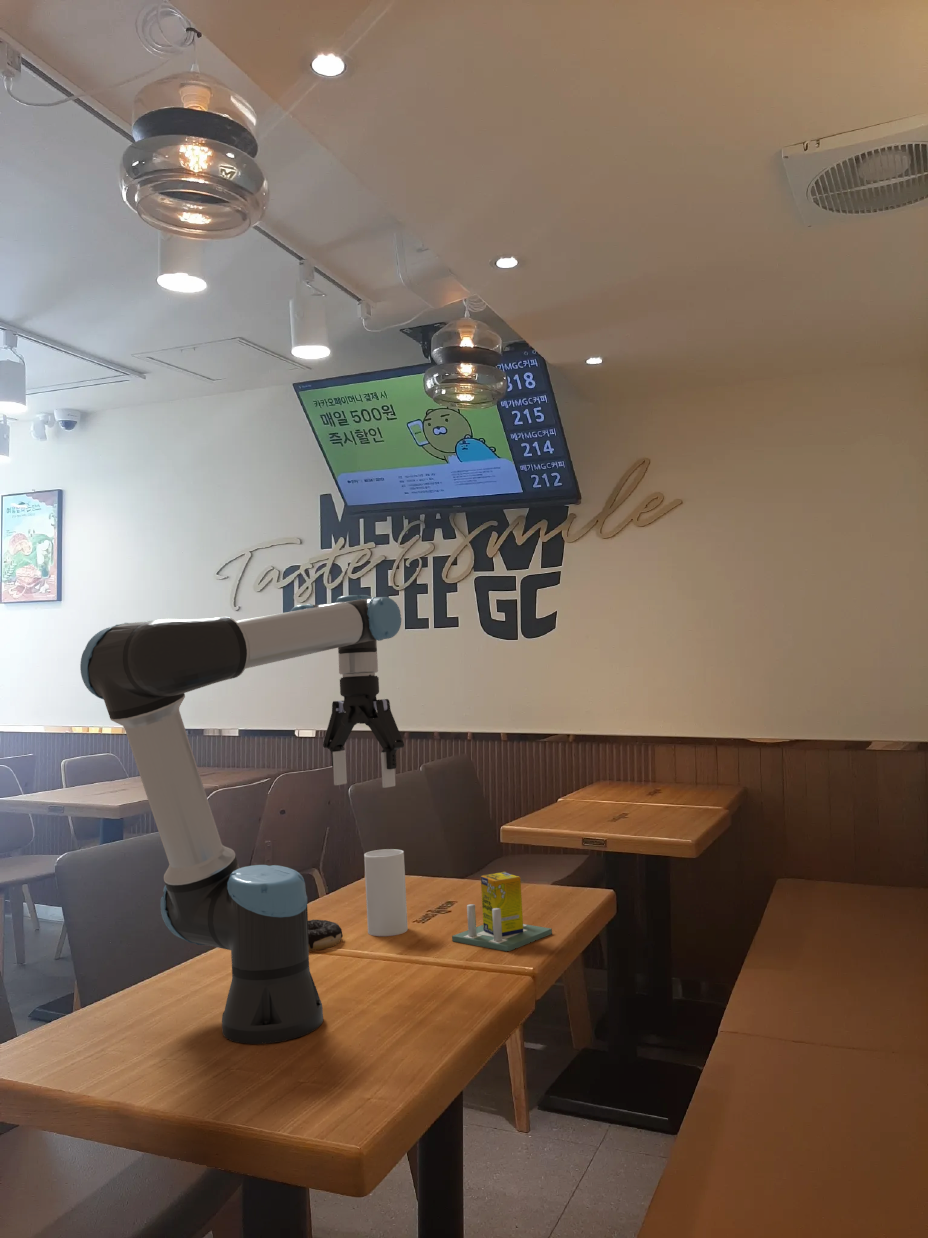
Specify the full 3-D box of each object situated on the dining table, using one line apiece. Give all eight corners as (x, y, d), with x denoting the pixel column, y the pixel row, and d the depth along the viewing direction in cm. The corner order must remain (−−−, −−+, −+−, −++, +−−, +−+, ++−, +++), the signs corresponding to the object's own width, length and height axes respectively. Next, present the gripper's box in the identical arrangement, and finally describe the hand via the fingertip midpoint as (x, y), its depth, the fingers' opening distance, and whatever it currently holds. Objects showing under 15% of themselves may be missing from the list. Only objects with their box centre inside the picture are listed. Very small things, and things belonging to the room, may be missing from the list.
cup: (410, 925, 202) (406, 848, 203) (404, 936, 194) (400, 856, 195) (372, 926, 203) (368, 850, 204) (364, 937, 195) (360, 857, 196)
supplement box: (482, 931, 190) (479, 875, 191) (508, 926, 193) (505, 871, 193) (497, 938, 185) (494, 880, 185) (524, 932, 187) (520, 876, 188)
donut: (275, 952, 188) (274, 931, 189) (304, 935, 200) (303, 916, 200) (326, 954, 185) (325, 933, 185) (352, 937, 196) (351, 917, 196)
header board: (508, 951, 179) (506, 913, 179) (452, 941, 188) (450, 905, 189) (552, 933, 190) (550, 898, 190) (497, 924, 199) (495, 890, 199)
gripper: (418, 671, 181) (424, 785, 179) (331, 677, 197) (335, 781, 196) (390, 673, 175) (396, 790, 174) (302, 678, 191) (307, 785, 190)
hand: (364, 785), depth 185 cm, fingers open, 13 cm apart
